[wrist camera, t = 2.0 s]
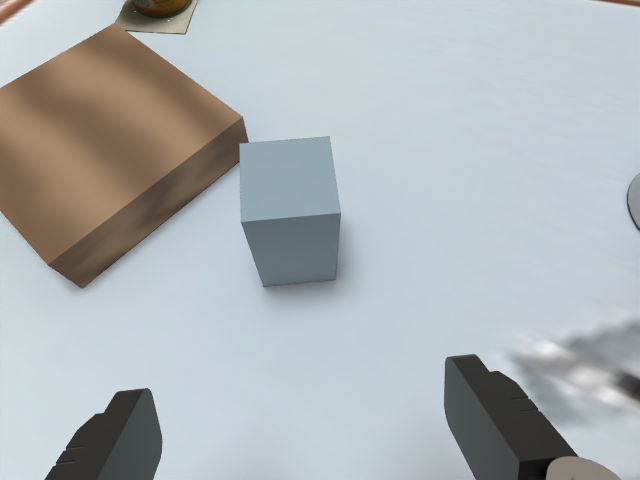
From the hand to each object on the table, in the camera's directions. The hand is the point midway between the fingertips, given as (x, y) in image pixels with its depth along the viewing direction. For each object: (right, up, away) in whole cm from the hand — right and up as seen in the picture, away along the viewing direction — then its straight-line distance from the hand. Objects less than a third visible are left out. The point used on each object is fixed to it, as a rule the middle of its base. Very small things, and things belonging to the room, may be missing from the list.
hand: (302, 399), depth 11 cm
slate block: (-1, +4, +18) cm, 19 cm away
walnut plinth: (-16, +11, +22) cm, 30 cm away
